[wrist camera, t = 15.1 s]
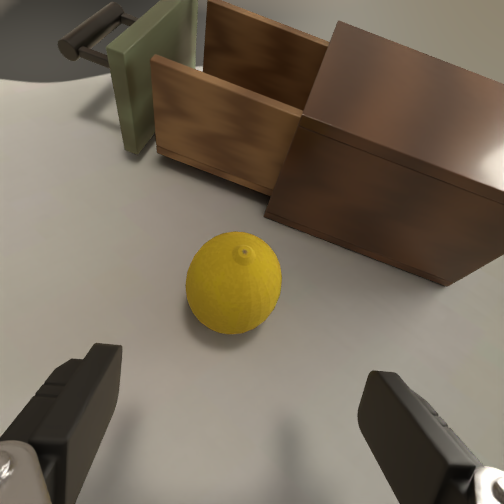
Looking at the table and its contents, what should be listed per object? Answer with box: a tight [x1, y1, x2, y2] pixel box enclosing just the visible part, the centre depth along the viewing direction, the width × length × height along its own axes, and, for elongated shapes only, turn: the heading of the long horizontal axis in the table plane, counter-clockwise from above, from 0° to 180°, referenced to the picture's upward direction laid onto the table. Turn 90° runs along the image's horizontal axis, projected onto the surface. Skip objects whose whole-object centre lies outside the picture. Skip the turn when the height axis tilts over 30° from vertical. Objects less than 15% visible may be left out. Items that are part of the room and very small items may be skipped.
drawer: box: [58, 0, 330, 196], centre depth 26 cm, size 21×12×8 cm, turn 72°
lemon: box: [186, 232, 282, 334], centre depth 19 cm, size 6×6×8 cm
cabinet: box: [264, 21, 504, 287], centre depth 26 cm, size 17×13×10 cm
